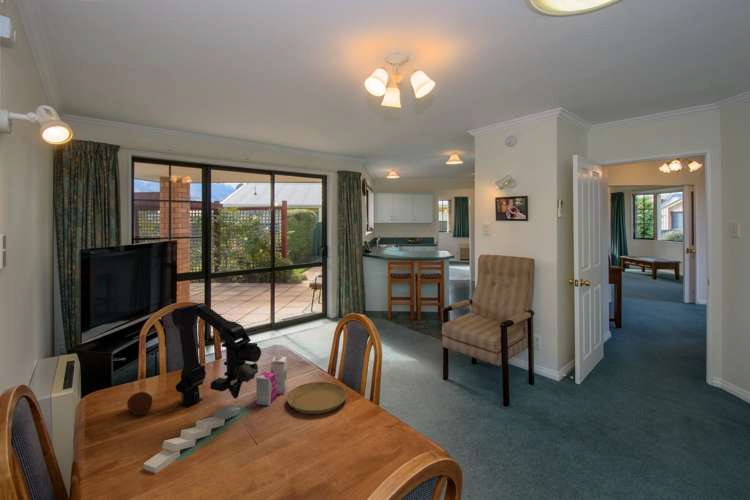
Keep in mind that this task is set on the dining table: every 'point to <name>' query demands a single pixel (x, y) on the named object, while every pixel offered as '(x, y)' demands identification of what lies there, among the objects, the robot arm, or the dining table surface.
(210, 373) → the dining table surface
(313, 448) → the dining table surface
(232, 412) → the slate domino
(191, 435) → the domino
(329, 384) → the plant saucer
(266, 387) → the supplement box
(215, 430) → the strip
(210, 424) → the domino
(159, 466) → the domino
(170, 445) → the domino
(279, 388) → the syrup box
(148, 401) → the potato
